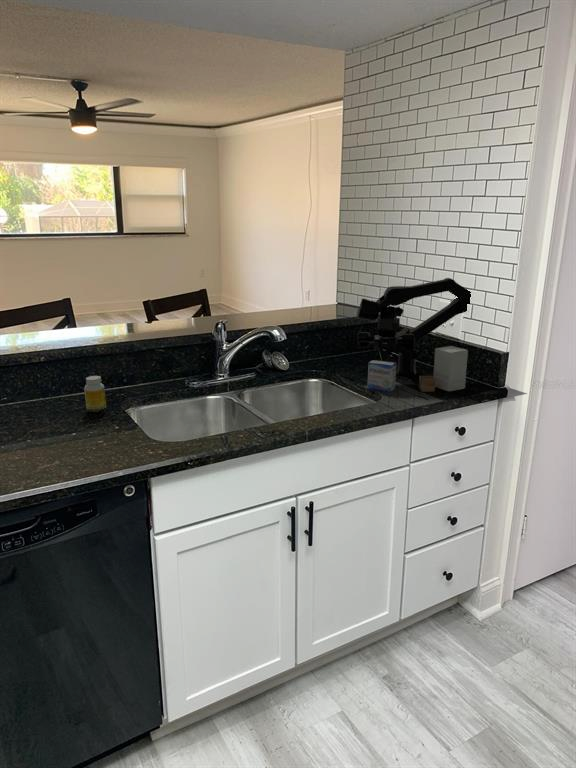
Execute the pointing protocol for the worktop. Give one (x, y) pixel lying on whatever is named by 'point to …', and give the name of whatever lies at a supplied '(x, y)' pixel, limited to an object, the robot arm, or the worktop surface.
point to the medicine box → (381, 375)
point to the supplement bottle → (94, 393)
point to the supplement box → (450, 368)
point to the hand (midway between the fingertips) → (383, 362)
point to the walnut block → (427, 383)
